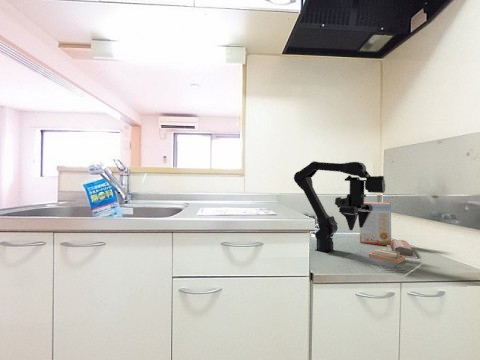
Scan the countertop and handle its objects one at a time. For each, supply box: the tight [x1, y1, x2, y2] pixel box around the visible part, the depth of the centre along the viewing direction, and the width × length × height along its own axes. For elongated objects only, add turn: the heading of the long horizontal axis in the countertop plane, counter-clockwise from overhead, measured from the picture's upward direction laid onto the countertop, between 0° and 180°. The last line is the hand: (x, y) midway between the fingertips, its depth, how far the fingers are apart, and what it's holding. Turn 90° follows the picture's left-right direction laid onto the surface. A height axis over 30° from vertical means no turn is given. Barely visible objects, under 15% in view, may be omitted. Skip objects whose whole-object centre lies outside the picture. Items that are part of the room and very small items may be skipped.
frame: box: [369, 251, 406, 265], centre depth 107 cm, size 11×8×2 cm
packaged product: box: [386, 239, 418, 260], centre depth 117 cm, size 18×5×10 cm
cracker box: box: [359, 201, 392, 247], centre depth 135 cm, size 14×6×21 cm, turn 58°
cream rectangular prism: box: [373, 248, 400, 259], centre depth 107 cm, size 4×8×3 cm, turn 41°
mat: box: [344, 250, 398, 269], centre depth 108 cm, size 18×15×1 cm
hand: (356, 228), depth 111 cm, fingers open, 9 cm apart
